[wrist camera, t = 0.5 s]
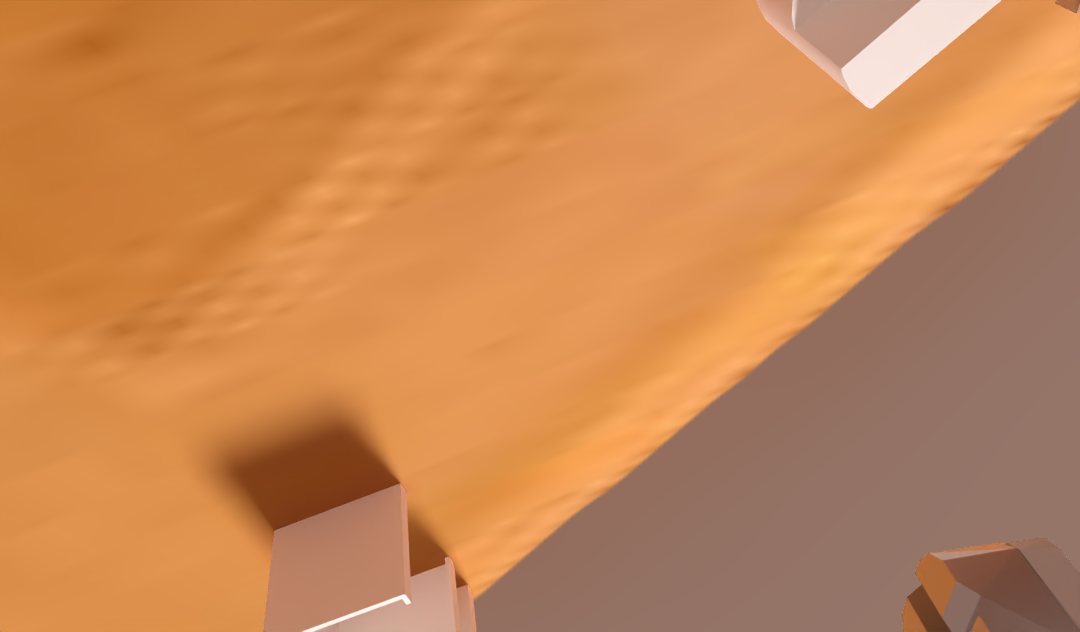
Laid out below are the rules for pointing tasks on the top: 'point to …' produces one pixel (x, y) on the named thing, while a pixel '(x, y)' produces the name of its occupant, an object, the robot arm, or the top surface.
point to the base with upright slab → (872, 36)
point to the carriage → (1070, 5)
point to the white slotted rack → (360, 575)
